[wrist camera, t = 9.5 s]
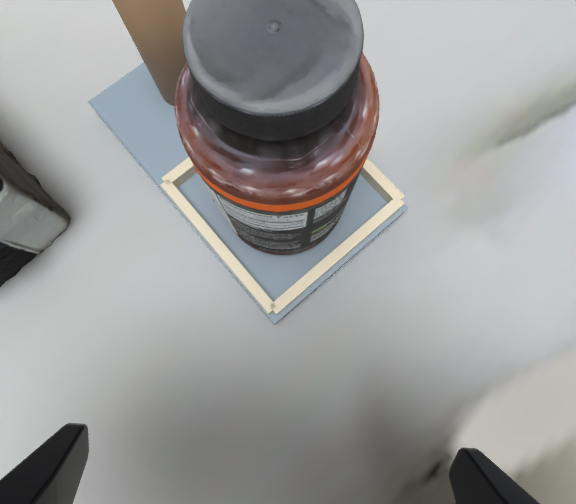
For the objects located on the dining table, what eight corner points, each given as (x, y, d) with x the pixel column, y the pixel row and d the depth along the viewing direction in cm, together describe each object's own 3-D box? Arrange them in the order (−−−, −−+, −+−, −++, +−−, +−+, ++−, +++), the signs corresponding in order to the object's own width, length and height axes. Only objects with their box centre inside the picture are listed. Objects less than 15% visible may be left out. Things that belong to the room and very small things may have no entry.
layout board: (402, 213, 20) (491, 124, 12) (274, 324, 19) (266, 317, 10) (221, 23, 23) (181, -174, 14) (96, 112, 21) (-34, -41, 13)
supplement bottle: (255, 126, 20) (215, -123, 9) (361, 172, 20) (455, -33, 9) (201, 227, 19) (82, 83, 8) (312, 279, 19) (348, 200, 8)
